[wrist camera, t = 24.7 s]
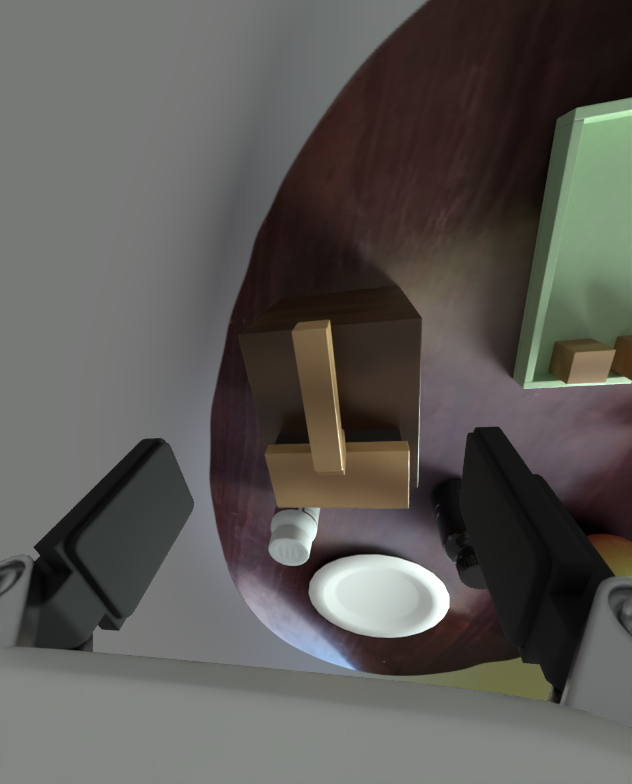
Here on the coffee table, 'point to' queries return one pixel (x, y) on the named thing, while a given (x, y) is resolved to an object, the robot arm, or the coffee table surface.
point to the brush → (333, 443)
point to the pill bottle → (293, 534)
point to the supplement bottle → (456, 533)
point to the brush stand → (342, 363)
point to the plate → (379, 595)
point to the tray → (581, 243)
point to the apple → (614, 552)
